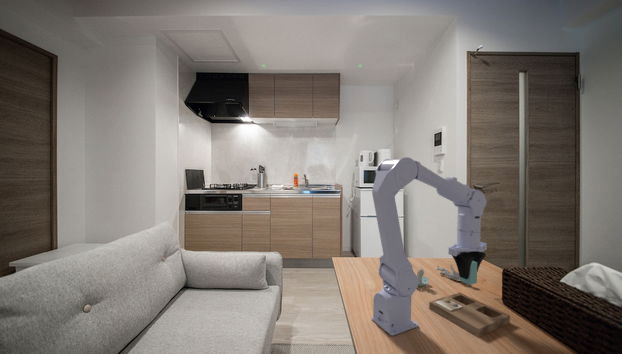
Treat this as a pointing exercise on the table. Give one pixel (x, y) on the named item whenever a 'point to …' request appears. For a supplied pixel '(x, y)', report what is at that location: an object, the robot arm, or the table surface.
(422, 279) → the pacifier
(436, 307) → the wooden sorting tray
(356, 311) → the table surface
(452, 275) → the soldier figure
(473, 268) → the teal rectangular block
